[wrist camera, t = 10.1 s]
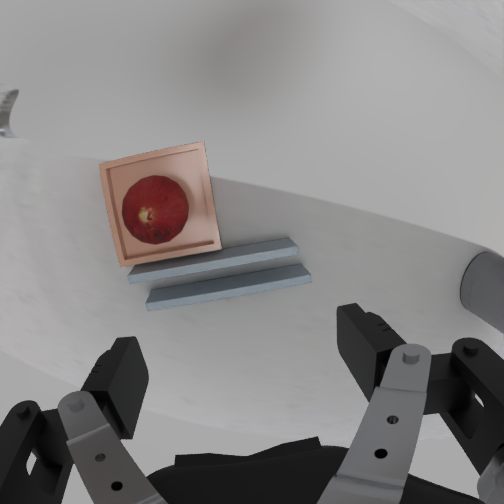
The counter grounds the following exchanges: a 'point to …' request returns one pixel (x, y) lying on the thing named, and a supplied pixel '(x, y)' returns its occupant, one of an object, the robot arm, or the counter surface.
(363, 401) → the counter surface
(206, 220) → the terracotta dish
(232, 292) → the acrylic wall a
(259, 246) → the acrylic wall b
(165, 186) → the pomegranate
